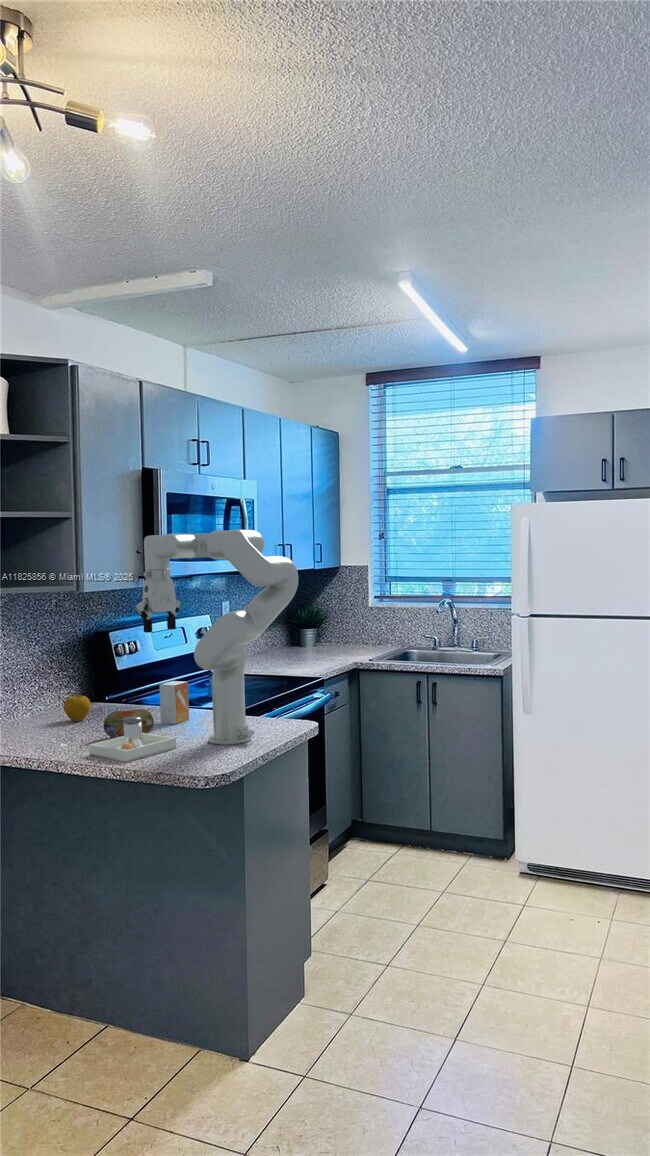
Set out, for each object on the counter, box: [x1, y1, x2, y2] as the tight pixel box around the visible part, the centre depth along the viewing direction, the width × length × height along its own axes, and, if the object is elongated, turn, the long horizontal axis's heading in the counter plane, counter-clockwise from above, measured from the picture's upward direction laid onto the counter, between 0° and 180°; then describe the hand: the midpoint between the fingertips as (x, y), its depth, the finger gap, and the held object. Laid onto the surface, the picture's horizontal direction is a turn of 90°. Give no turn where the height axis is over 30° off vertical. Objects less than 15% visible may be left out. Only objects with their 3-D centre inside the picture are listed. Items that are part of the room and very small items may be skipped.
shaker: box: [123, 716, 143, 748], centre depth 239 cm, size 5×5×9 cm
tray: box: [88, 733, 177, 763], centre depth 239 cm, size 16×18×3 cm
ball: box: [121, 743, 134, 750], centre depth 232 cm, size 4×4×4 cm
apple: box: [63, 694, 92, 722], centre depth 287 cm, size 9×9×9 cm
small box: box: [159, 680, 190, 725], centre depth 280 cm, size 8×6×13 cm
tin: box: [103, 708, 155, 739], centre depth 260 cm, size 15×3×8 cm, turn 101°
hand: (160, 630), depth 260 cm, fingers open, 9 cm apart
